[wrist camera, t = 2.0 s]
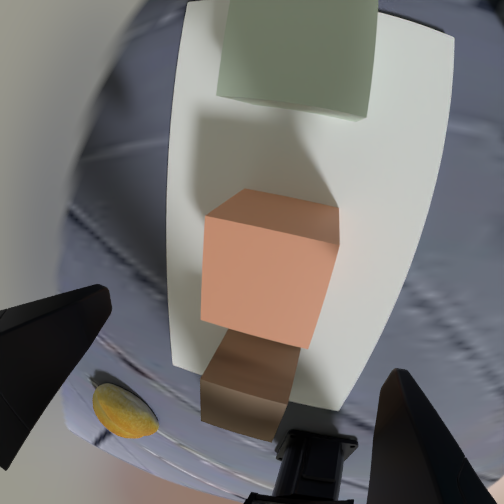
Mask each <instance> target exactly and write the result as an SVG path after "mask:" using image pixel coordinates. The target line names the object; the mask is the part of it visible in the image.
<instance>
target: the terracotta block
mask: <svg viewBox="0 0 504 504" xmlns="http://www.w3.org/2000/svg"><path fill="white" fill-rule="evenodd" d="M339 246H340V229H339V208H337V207H333V206H329V205H324V204H320V203H315V202H311V201H306V200H301V199H297V198H292V197H287V196H282V195H277V194H272V193H267V192H262V191H256V190H251V189H245V188H244V189H243V190H241V191H240V192H238V193H237V194H236V195H234V196H233V197H231V198H230V199H228V200H227V201H225V202H224V203H222V204H221V205H220V206H218V207H217V208H215V209H214V210H212V211H211V212H210V213H208V214H207V215H205V224H204V242H203V262H202V287H201V320H203V321H206V322H209V323H212V324H216V325H219V326H222V327H226V328H229V329H232V330H236V331H239V332H243V333H246V334H250V335H253V336H257V337H261V338H265V339H268V340H272V341H276V342H280V343H284V344H288V345H292V346H296V347H300V348H304V349H308V348H309V345H310V342H311V339H312V336H313V334H314V330H315V327H316V324H317V321H318V318H319V315H320V312H321V309H322V306H323V302H324V299H325V296H326V292H327V289H328V286H329V282H330V279H331V275H332V272H333V268H334V265H335V261H336V257H337V254H338V250H339Z"/></svg>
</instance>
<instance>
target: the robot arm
mask: <svg viewBox="0 0 504 504" xmlns="http://www.w3.org/2000/svg"><path fill="white" fill-rule="evenodd" d="M111 311H112V305H111V299H110V293H109V290H108V288H107V287H105V286H102V285H100V284H95V285H91V286H88V287H84V288H80V289H76V290H73V291H69V292H65V293H62V294H58V295H55V296H51V297H47V298H44V299H40V300H36V301H33V302H29V303H26V304H22V305H19V306H15V307H11V308H8V309H4V310H0V467H1V468H3V469H4V470H5V471H6V470H7V469H8V468H9V466H10V465H11V463H12V461H13V460H14V458H15V456H16V455H17V453H18V451H19V450H20V448H21V446H22V445H23V443H24V441H25V440H26V438H27V437H28V435H29V433H30V431H31V430H32V429H33V427H34V425H35V424H36V422H37V421H38V419H39V418H40V416H41V415H42V413H43V412H44V410H45V409H46V407H47V406H48V404H49V403H50V401H51V400H52V399H53V397H54V396H55V394H56V393H57V391H58V390H59V389H60V387H61V386H62V384H63V383H64V382H65V380H66V379H67V377H68V376H69V375H70V373H71V372H72V370H73V369H74V368H75V366H76V365H77V364H78V362H79V361H80V360H81V358H82V357H83V356H84V354H85V353H86V352H87V350H88V349H89V347H90V346H91V344H92V343H93V341H94V340H95V338H96V336H97V335H98V333H99V332H100V330H101V328H102V327H103V325H104V324H105V322H106V320H107V319H108V317H109V316H110V314H111ZM357 447H358V442H357V441H353V440H346V439H339V438H332V437H326V436H321V435H315V434H310V433H305V432H300V431H296V430H291V431H289V432H288V434H287V436H286V438H285V440H284V442H283V444H282V446H281V448H280V450H279V452H278V453H277V456H276V459H277V460H280V461H282V463H281V466H280V470H279V473H278V477H277V480H276V484H275V487H274V490H273V493H272V496H268V495H261V494H258V493H254V492H251V493H250V495H249V497H248V499H246V500H245V502H244V504H354V499H351V500H346V501H338V497H339V491H340V485H341V478H342V471H343V463H344V461H345V460H346V459H347V458H348V457H349V456H350V455H351V454H352V453H353V452H354V451H355V450H356V448H357ZM367 504H497V503H496V501H495V500H494V498H493V497H492V496H491V494H490V493H489V492H488V490H487V489H486V487H485V486H484V484H483V483H482V482H481V480H480V479H479V477H478V476H477V474H476V472H475V471H474V469H473V468H472V466H471V464H470V463H469V461H468V460H467V458H465V455H464V453H463V452H462V450H461V448H460V447H459V445H458V444H457V442H456V441H455V439H454V437H453V436H452V434H451V433H450V431H449V430H448V428H447V427H446V425H445V424H444V422H443V421H442V419H441V418H440V416H439V415H438V413H437V412H436V410H435V409H434V407H433V406H432V404H431V403H430V401H429V400H428V398H427V397H426V396H425V394H424V393H423V391H422V390H421V388H420V387H419V386H418V384H417V383H416V381H415V380H414V378H413V377H412V376H411V374H410V373H409V372H408V371H407V370H405V369H399V368H395V369H393V370H392V371H391V373H390V375H389V376H388V378H387V379H386V381H385V382H384V384H383V386H382V388H381V390H380V396H379V404H378V411H377V418H376V424H375V430H374V437H373V448H372V461H371V472H370V481H369V489H368V497H367Z"/></svg>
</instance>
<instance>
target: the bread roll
mask: <svg viewBox="0 0 504 504" xmlns="http://www.w3.org/2000/svg"><path fill="white" fill-rule="evenodd" d="M93 409H94V411H95V414H96V416H97V417H98V419H99V421H100V422H101V423H102V424H103V425H104V426H105V427H106V428H107V429H108V430H110V431H111V432H112V433H114V434H116V435H118V436H120V437H124V438H140V437H142V436H148V435H151V434H153V433H155V432H156V431H157V430H158V428H159V422H158V420H157V418H156V416H155V415H154V414H153V412H152V411H151V410H150V408H149V407H148V406H147V405H146V404H145V403H144V402H143V401H142V400H141V399H139V398H138V397H137V396H135V395H134V394H132V393H130V392H129V391H127V390H125V389H123V388H121V387H119V386H116V385H114V384H109V383H106V384H102V385H99V386H98V387H97V388H96V390H95V392H94V394H93Z"/></svg>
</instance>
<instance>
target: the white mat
mask: <svg viewBox="0 0 504 504" xmlns="http://www.w3.org/2000/svg"><path fill="white" fill-rule="evenodd" d="M229 4H230V0H202V1H193V2H188V4H187V9H186V14H185V19H184V25H183V31H182V37H181V43H180V49H179V56H178V63H177V70H176V78H175V87H174V96H173V105H172V116H171V128H170V141H169V157H168V177H167V214H166V250H167V287H168V308H169V324H170V338H171V350H172V360H173V365H175V366H178V367H180V368H183V369H186V370H188V371H191V372H194V373H197V374H199V375H203V373H204V371H205V370H206V368H207V366H208V364H209V362H210V361H211V359H212V357H213V355H214V354H215V352H216V350H217V348H218V346H219V345H220V343H221V341H222V339H223V338H224V336H225V334H226V332H227V330H228V329H229V328H226V327H222V326H219V325H216V324H212V323H209V322H206V321H203V320H201V287H202V262H203V242H204V224H205V215H207V214H208V213H210V212H211V211H212V210H214V209H215V208H217V207H218V206H220V205H221V204H222V203H224V202H225V201H227V200H228V199H230V198H231V197H233V196H234V195H236V194H237V193H238V192H240V191H241V190H243V189H244V188H245V189H251V190H256V191H262V192H267V193H272V194H277V195H282V196H287V197H292V198H297V199H301V200H306V201H311V202H315V203H320V204H324V205H329V206H333V207H337V208H339V229H340V246H339V250H338V254H337V257H336V261H335V265H334V268H333V272H332V275H331V279H330V282H329V286H328V289H327V292H326V296H325V299H324V302H323V306H322V309H321V312H320V315H319V318H318V321H317V324H316V327H315V330H314V334H313V336H312V339H311V342H310V345H309V348H308V349H304V348H301V350H300V355H299V359H298V364H297V368H296V372H295V376H294V381H293V385H292V389H291V393H290V397H289V401H291V402H296V403H300V404H305V405H309V406H314V407H319V408H324V409H329V410H335V411H339V409H340V408H341V406H342V404H343V403H344V401H345V400H346V398H347V396H348V395H349V393H350V391H351V390H352V388H353V386H354V384H355V383H356V381H357V379H358V377H359V376H360V374H361V372H362V370H363V368H364V366H365V365H366V363H367V361H368V359H369V357H370V355H371V353H372V351H373V349H374V347H375V345H376V343H377V341H378V339H379V337H380V335H381V333H382V331H383V329H384V327H385V325H386V323H387V320H388V318H389V316H390V314H391V312H392V309H393V307H394V305H395V302H396V300H397V298H398V295H399V293H400V291H401V288H402V286H403V283H404V281H405V278H406V275H407V273H408V270H409V268H410V265H411V262H412V259H413V257H414V254H415V251H416V248H417V245H418V242H419V239H420V236H421V233H422V230H423V227H424V224H425V220H426V217H427V213H428V210H429V206H430V203H431V199H432V195H433V192H434V188H435V184H436V180H437V175H438V171H439V167H440V162H441V157H442V152H443V147H444V142H445V136H446V130H447V124H448V117H449V109H450V101H451V92H452V81H453V66H454V37H452V36H449V35H447V34H444V33H442V32H439V31H437V30H434V29H431V28H429V27H426V26H423V25H420V24H417V23H414V22H411V21H408V20H405V19H402V18H398V17H395V16H391V15H387V14H384V13H380V12H378V17H377V33H376V45H375V56H374V65H373V74H372V83H371V90H370V98H369V105H368V111H367V118H364V119H362V120H359V121H357V122H353V121H349V120H344V119H340V118H335V117H330V116H325V115H319V114H314V113H308V112H302V111H296V110H289V109H282V108H275V107H267V106H258V105H252V104H249V103H245V102H241V101H237V100H233V99H229V98H224V97H220V96H216V92H217V84H218V76H219V68H220V61H221V54H222V47H223V40H224V34H225V28H226V21H227V15H228V9H229Z"/></svg>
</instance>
